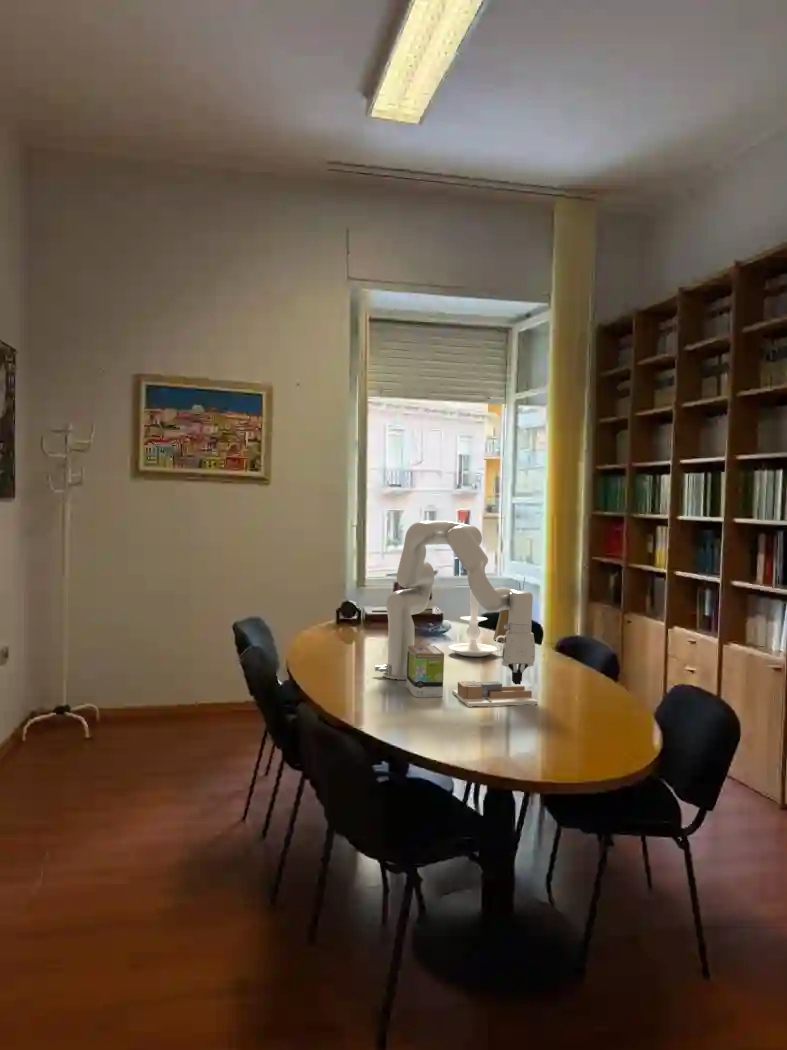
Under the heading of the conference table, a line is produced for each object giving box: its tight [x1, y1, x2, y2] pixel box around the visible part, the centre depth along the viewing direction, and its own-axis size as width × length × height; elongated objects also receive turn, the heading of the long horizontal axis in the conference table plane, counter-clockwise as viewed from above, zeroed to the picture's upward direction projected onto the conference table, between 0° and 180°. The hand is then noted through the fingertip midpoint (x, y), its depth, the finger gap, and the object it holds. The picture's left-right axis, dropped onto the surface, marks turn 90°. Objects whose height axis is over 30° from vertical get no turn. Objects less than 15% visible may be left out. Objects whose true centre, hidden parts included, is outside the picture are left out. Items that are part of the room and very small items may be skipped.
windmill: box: [492, 576, 526, 643], centre depth 376 cm, size 21×14×30 cm, turn 164°
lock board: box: [452, 680, 538, 708], centre depth 265 cm, size 23×18×5 cm
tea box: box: [406, 645, 445, 698], centre depth 272 cm, size 15×10×15 cm, turn 9°
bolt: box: [463, 680, 503, 697], centre depth 264 cm, size 12×4×4 cm, turn 102°
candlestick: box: [447, 589, 505, 658], centre depth 338 cm, size 21×25×28 cm
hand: (516, 683), depth 267 cm, fingers closed
